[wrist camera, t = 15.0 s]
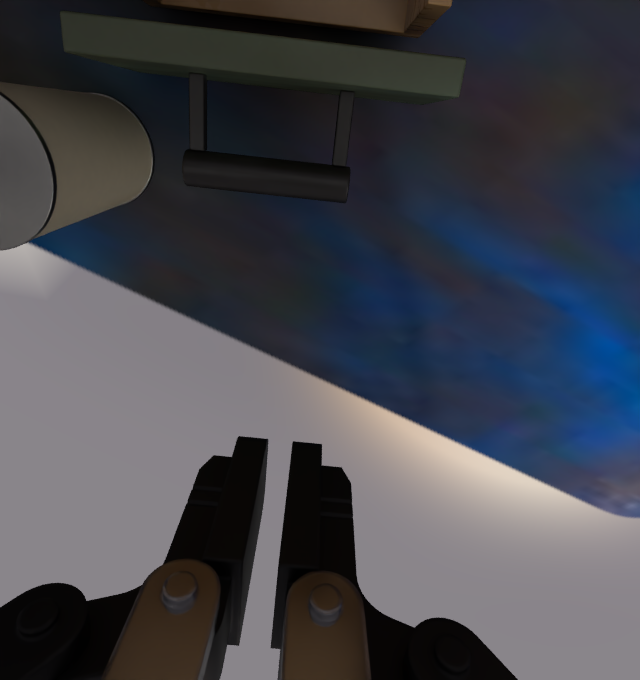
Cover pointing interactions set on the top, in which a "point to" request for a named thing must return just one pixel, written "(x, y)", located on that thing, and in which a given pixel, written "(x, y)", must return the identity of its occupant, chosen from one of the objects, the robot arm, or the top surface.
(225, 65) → the drawer
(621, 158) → the top surface
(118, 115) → the tin can
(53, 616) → the robot arm
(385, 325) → the top surface
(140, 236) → the top surface
